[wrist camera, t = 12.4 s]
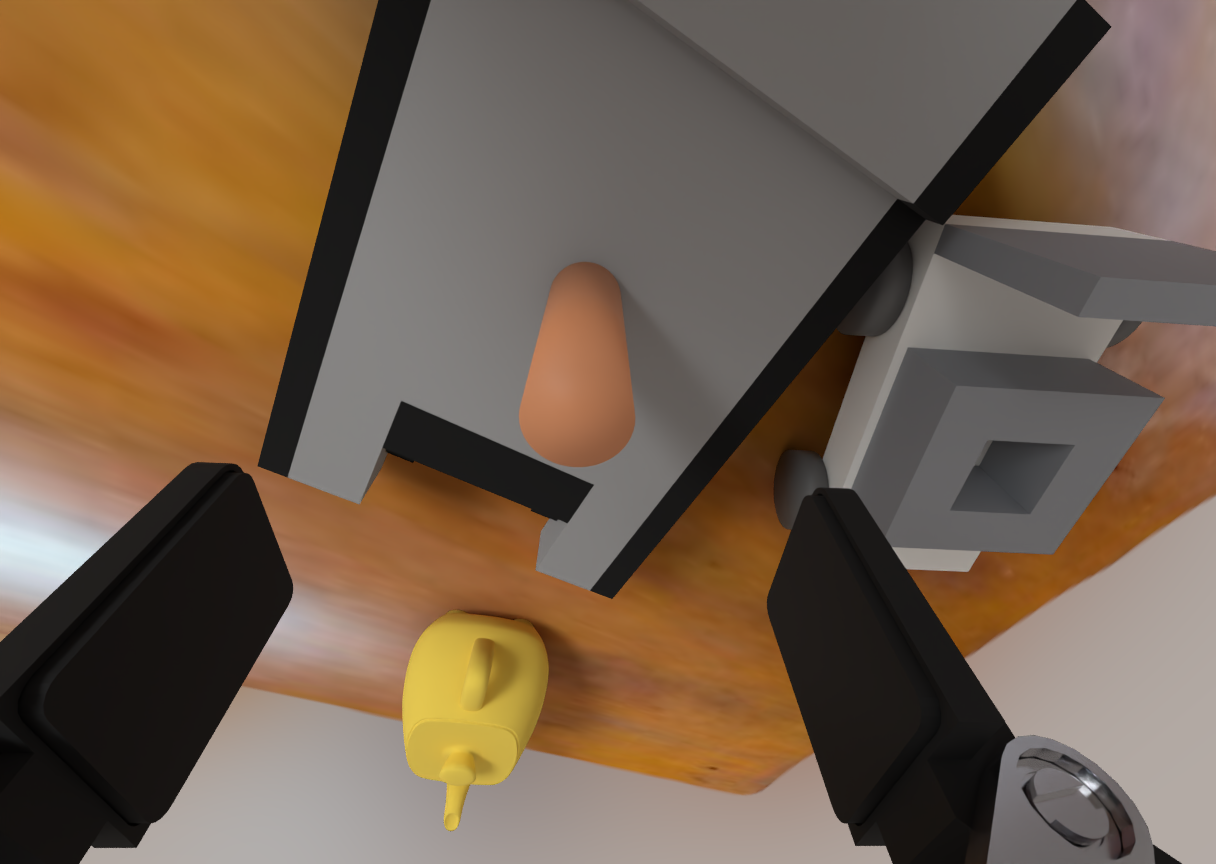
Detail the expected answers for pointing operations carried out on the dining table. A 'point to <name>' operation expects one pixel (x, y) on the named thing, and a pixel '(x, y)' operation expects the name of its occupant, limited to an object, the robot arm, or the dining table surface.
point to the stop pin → (580, 372)
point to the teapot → (472, 701)
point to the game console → (631, 225)
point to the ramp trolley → (996, 383)
